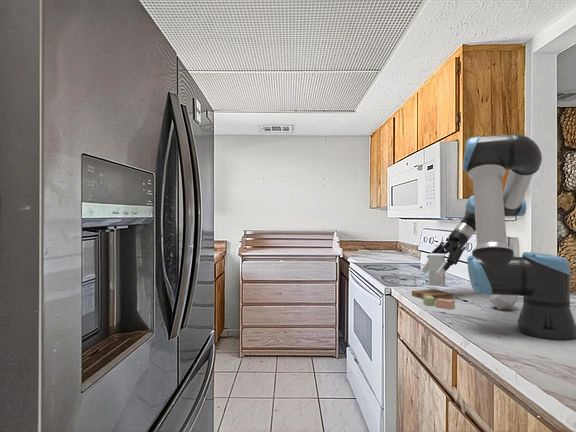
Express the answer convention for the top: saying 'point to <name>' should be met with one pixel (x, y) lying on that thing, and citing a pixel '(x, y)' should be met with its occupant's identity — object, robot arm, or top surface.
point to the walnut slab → (433, 294)
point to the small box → (436, 269)
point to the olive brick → (429, 300)
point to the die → (503, 301)
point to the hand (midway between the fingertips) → (430, 273)
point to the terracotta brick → (445, 303)
